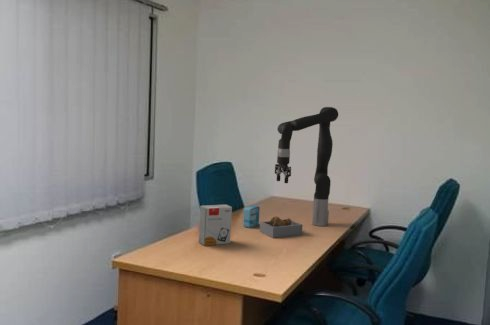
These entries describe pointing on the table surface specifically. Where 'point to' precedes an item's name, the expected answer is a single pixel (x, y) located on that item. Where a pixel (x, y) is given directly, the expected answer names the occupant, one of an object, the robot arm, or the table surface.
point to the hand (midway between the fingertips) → (282, 182)
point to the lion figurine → (280, 221)
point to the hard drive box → (215, 224)
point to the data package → (251, 216)
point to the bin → (280, 229)
